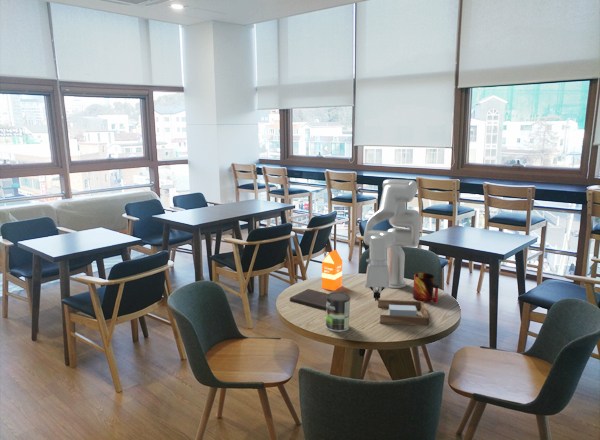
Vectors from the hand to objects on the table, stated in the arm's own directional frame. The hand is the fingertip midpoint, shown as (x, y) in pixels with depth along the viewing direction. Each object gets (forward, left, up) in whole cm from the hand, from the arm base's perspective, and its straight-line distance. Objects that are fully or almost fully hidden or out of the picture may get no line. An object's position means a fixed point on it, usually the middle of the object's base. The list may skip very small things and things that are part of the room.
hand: (376, 299), depth 217 cm
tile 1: (+1, +9, -7) cm, 11 cm away
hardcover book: (-12, -28, -8) cm, 32 cm away
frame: (+1, +12, -7) cm, 14 cm away
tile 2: (+1, +15, -7) cm, 16 cm away
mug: (-21, +26, -7) cm, 34 cm away
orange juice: (-34, -22, -7) cm, 41 cm away
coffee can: (+17, -17, -7) cm, 25 cm away
